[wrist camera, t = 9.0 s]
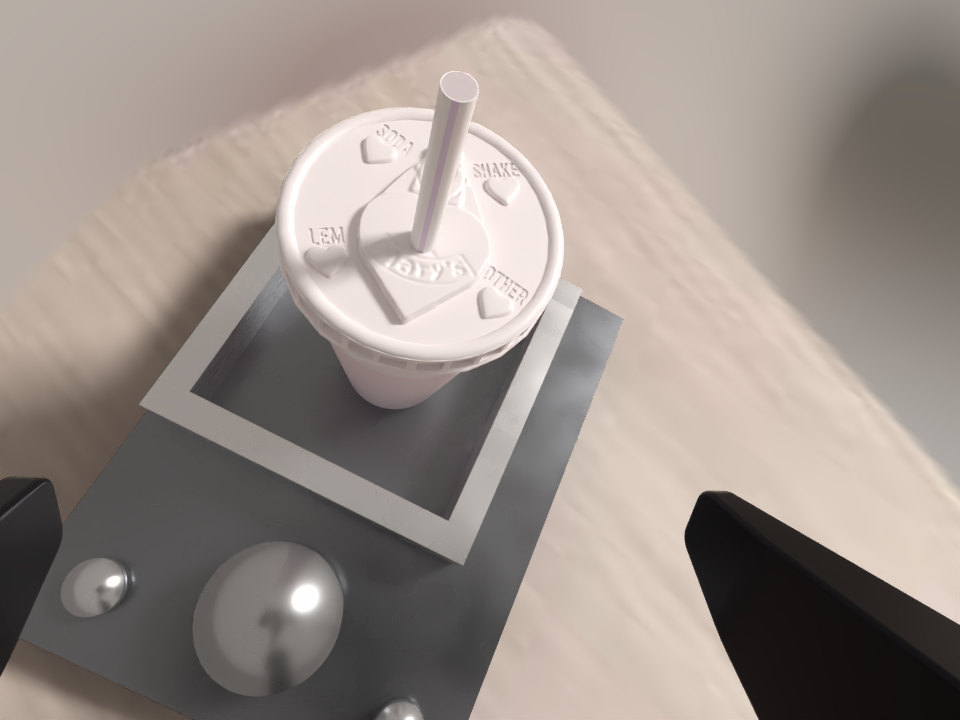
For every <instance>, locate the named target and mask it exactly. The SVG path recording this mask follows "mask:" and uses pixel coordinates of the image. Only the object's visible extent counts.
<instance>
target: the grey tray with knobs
mask: <svg viewBox="0 0 960 720" xmlns="http://www.w3.org/2000/svg"><path fill="white" fill-rule="evenodd" d="M581 292H582V289H580V288H579V287H577V286H575V285H573V284H571V283H569V282H567V281H565V280H564V279H562V278H559V281H558V284H557V287H556V289H555V291H554V293H553V296H552V298H551V299H550V301H549V303H548V304H547V306H546V308H545V310H544V311H543V313H542V314H541V316H540V317H539V319H538V320H537V321H536V323H535V324H534V326H533V327H532V329H531V330H530V332H529V333H528V335H527V336H526V337H525V338H524V339H522V340H521V341H520V342H519V343H517V344H516V345H515V346H514V347H512V348H511V349H510V350H509V351H507V352H506V353H505V354H504V355H502V356H501V357H500V358H497V359H495V360H493V361H490V362H488V363H486V364H483V365H481V366H479V367H476V368H474V369H471V370H469V371H466V372H460V373H459V374H458V375H456V376H455V377H454V378H453V379H451V380H450V381H449V382H447V383H446V384H445V385H444V386H442V387H441V388H440V389H438V390H437V391H436V392H435V393H433V394H432V395H431V396H429V397H428V398H427V399H426V400H424V401H423V402H421V403H419V404H417V405H415V406H412V407H409V408H405V409H386V408H382V407H378V406H376V405H374V404H372V403H370V402H368V401H366V400H365V399H364V398H362V397H361V396H360V395H359V394H358V393H357V392H356V390H355V389H354V388H353V386H352V385H351V383H350V381H349V379H348V377H347V375H346V373H345V371H344V369H343V367H342V365H341V363H340V361H339V359H338V357H337V355H336V353H335V351H334V349H333V347H332V345H331V343H330V341H329V340H327V339H326V338H324V337H323V336H321V335H320V334H319V333H318V331H317V330H316V329H315V328H314V327H313V325H312V324H311V323H310V322H309V321H308V319H307V318H306V317H305V316H304V315H303V313H302V312H301V311H300V310H299V309H298V307H297V306H296V305H295V303H294V301H293V298H292V296H291V294H290V291H289V289H288V287H287V285H286V282H285V280H284V278H283V275H282V273H281V270H280V262H279V253H278V244H277V237H276V225H275V223H274V225H273V226H272V227H271V229H270V230H269V231H268V233H267V234H266V235H265V237H264V238H263V239H262V241H261V242H260V243H259V245H258V246H257V247H256V249H255V250H254V251H253V253H252V254H251V255H250V257H249V258H248V259H247V261H246V262H245V263H244V265H243V266H242V267H241V269H240V270H239V271H238V273H237V274H236V275H235V277H234V278H233V279H232V281H231V282H230V283H229V285H228V286H227V287H226V289H225V290H224V291H223V293H222V294H221V295H220V297H219V298H218V299H217V301H216V302H215V303H214V305H213V306H212V307H211V309H210V310H209V311H208V313H207V314H206V315H205V317H204V318H203V319H202V321H201V322H200V323H199V325H198V326H197V327H196V329H195V330H194V332H193V333H192V334H191V336H190V337H189V338H188V340H187V341H186V342H185V344H184V345H183V346H182V348H181V349H180V350H179V352H178V353H177V354H176V356H175V357H174V358H173V360H172V361H171V362H170V364H169V365H168V366H167V368H166V369H165V370H164V372H163V373H162V374H161V376H160V377H159V378H158V380H157V381H156V382H155V384H154V385H153V386H152V388H151V389H150V390H149V392H148V393H147V394H146V396H145V397H144V398H143V400H142V401H141V402H140V404H139V405H140V406H142V407H143V408H145V409H146V410H147V412H146V413H145V415H144V416H143V417H142V419H141V420H140V421H139V423H138V424H137V425H136V427H135V428H134V429H133V431H132V432H131V434H130V435H129V436H128V438H127V439H126V440H125V442H124V443H123V444H122V446H121V447H120V448H119V450H118V451H117V452H116V454H115V455H114V457H113V458H112V459H111V461H110V462H109V463H108V465H107V466H106V467H105V469H104V470H103V471H102V473H101V474H100V476H99V477H98V478H97V480H96V481H95V482H94V484H93V485H92V486H91V488H90V489H89V490H88V492H87V493H86V494H85V496H84V497H83V499H82V500H81V501H80V503H79V504H78V505H77V507H76V508H75V509H74V511H73V512H72V513H71V515H70V516H69V517H68V519H67V520H66V522H65V523H64V524H63V526H62V528H63V535H62V541H61V545H60V547H59V550H58V552H57V554H56V557H55V559H54V561H53V563H52V566H51V568H50V570H49V572H48V575H47V577H46V579H45V581H44V583H43V586H42V588H41V590H40V592H39V595H38V597H37V599H36V601H35V603H34V606H33V608H32V610H31V612H30V615H29V617H28V619H27V621H26V624H25V626H24V628H23V630H22V632H21V635H20V637H19V638H20V639H22V640H25V641H27V642H29V643H31V644H33V645H35V646H37V647H40V648H42V649H44V650H46V651H48V652H50V653H52V654H55V655H57V656H59V657H61V658H63V659H65V660H67V661H70V662H72V663H74V664H76V665H78V666H80V667H82V668H84V669H87V670H89V671H91V672H93V673H95V674H97V675H99V676H102V677H104V678H106V679H108V680H110V681H112V682H114V683H117V684H119V685H121V686H123V687H125V688H127V689H129V690H132V691H134V692H136V693H138V694H140V695H142V696H144V697H147V698H149V699H151V700H153V701H155V702H157V703H159V704H162V705H164V706H166V707H168V708H170V709H172V710H174V711H177V712H179V713H181V714H183V715H185V716H187V717H189V718H192V719H194V720H468V719H469V717H470V714H471V712H472V709H473V706H474V704H475V701H476V699H477V696H478V693H479V691H480V688H481V686H482V683H483V681H484V678H485V675H486V673H487V670H488V668H489V665H490V662H491V660H492V657H493V655H494V652H495V649H496V647H497V644H498V642H499V639H500V637H501V634H502V631H503V629H504V626H505V624H506V621H507V618H508V616H509V613H510V611H511V608H512V606H513V603H514V600H515V598H516V595H517V593H518V590H519V587H520V585H521V582H522V580H523V577H524V574H525V572H526V569H527V567H528V564H529V562H530V559H531V556H532V554H533V551H534V549H535V546H536V543H537V541H538V538H539V536H540V533H541V531H542V528H543V525H544V523H545V520H546V518H547V515H548V512H549V510H550V507H551V505H552V502H553V499H554V497H555V494H556V492H557V489H558V487H559V484H560V481H561V479H562V476H563V474H564V471H565V468H566V466H567V463H568V461H569V458H570V455H571V453H572V450H573V448H574V445H575V443H576V440H577V437H578V435H579V432H580V430H581V427H582V424H583V422H584V419H585V417H586V414H587V412H588V409H589V406H590V404H591V401H592V399H593V396H594V393H595V391H596V388H597V386H598V383H599V380H600V378H601V375H602V373H603V370H604V368H605V365H606V362H607V360H608V357H609V355H610V352H611V349H612V347H613V344H614V342H615V339H616V337H617V334H618V331H619V329H620V326H621V324H622V321H623V318H621V317H619V316H617V315H615V314H613V313H611V312H610V311H608V310H606V309H604V308H602V307H600V306H598V305H596V304H594V303H593V302H591V301H589V300H587V299H585V298H583V297H581V296H580V295H581Z"/></svg>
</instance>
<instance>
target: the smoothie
mask: <svg viewBox="0 0 960 720" xmlns="http://www.w3.org/2000/svg"><path fill="white" fill-rule="evenodd" d="M478 93H479V86H478V84H477V82H476V80H475V79H474V78H473V77H472V76H471V75H469V74H467V73H465V72H462V71H450V72H447V73H446V74H444V75H443V76H442V78H441V80H440V86H439V91H438V96H437V101H436V107H435V110H432V109H423V108H408V107H401V108H387V109H379V110H374V111H370V112H365V113H362V114H359V115H356V116H353V117H350V118H348V119H345V120H343V121H341V122H339V123H337V124H335V125H333V126H332V127H330V128H328V129H327V130H325V131H324V132H322V133H321V134H319V135H318V136H317V137H316V138H315V139H313V140H312V141H311V142H310V143H309V144H308V145H307V146H306V147H305V148H304V149H303V150H302V151H301V153H300V154H299V155H298V156H297V158H296V159H295V160H294V162H293V163H292V165H291V167H290V168H289V170H288V172H287V174H286V176H285V178H284V181H283V183H282V186H281V189H280V192H279V195H278V201H277V206H276V217H275V225H276V237H277V244H278V253H279V262H280V270H281V273H282V275H283V278H284V280H285V282H286V285H287V287H288V289H289V291H290V294H291V296H292V298H293V301H294V303H295V305H296V306H297V307H298V309H299V310H300V311H301V312H302V313H303V315H304V316H305V317H306V318H307V319H308V321H309V322H310V323H311V324H312V325H313V327H314V328H315V329H316V330H317V331H318V333H319V334H320V335H321V336H323V337H324V338H326V339H327V340H329V341H330V343H331V345H332V347H333V349H334V351H335V353H336V355H337V357H338V359H339V361H340V363H341V365H342V367H343V369H344V371H345V373H346V375H347V377H348V379H349V381H350V383H351V385H352V386H353V388H354V389H355V390H356V392H357V393H358V394H359V395H360V396H361V397H362V398H364V399H365V400H366V401H368V402H370V403H372V404H374V405H376V406H378V407H382V408H386V409H405V408H409V407H412V406H415V405H417V404H419V403H421V402H423V401H424V400H426V399H427V398H428V397H429V396H431V395H432V394H433V393H435V392H436V391H437V390H438V389H440V388H441V387H442V386H444V385H445V384H446V383H447V382H449V381H450V380H451V379H453V378H454V377H455V376H456V375H458V374H459V373H460V372H466V371H469V370H471V369H474V368H476V367H479V366H481V365H483V364H486V363H488V362H490V361H493V360H495V359H497V358H500V357H501V356H502V355H504V354H505V353H506V352H507V351H509V350H510V349H511V348H512V347H514V346H515V345H516V344H517V343H519V342H520V341H521V340H522V339H524V338H525V337H526V336H527V335H528V333H529V332H530V330H531V329H532V327H533V326H534V324H535V323H536V321H537V320H538V319H539V317H540V316H541V314H542V313H543V311H544V310H545V308H546V306H547V304H548V303H549V301H550V299H551V298H552V296H553V293H554V291H555V289H556V287H557V284H558V281H559V278H560V275H561V270H562V265H563V256H564V238H563V229H562V224H561V220H560V216H559V213H558V210H557V207H556V204H555V202H554V199H553V197H552V195H551V193H550V191H549V189H548V187H547V186H546V184H545V182H544V181H543V179H542V178H541V176H540V175H539V173H538V172H537V171H536V170H535V168H534V167H533V166H532V165H531V163H530V162H529V161H528V160H527V159H526V158H525V157H524V156H523V155H522V154H521V153H520V152H519V151H518V150H517V149H515V148H514V147H513V146H512V145H511V144H509V143H508V142H507V141H505V140H504V139H503V138H501V137H500V136H498V135H497V134H495V133H494V132H492V131H490V130H488V129H487V128H485V127H483V126H481V125H479V124H477V123H474V122H472V121H471V118H472V115H473V111H474V108H475V104H476V100H477V97H478Z"/></svg>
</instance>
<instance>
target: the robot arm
mask: <svg viewBox="0 0 960 720" xmlns="http://www.w3.org/2000/svg"><path fill="white" fill-rule="evenodd" d="M62 535H63V528H62V523H61V518H60V513H59V509H58V504H57V500H56V495H55V491H54V487H53V484H52V483H51V481H50V480H49V479H47V478H44V477H21V476H14V477H7V478H4V479H2V480H0V676H1V674H2V672H3V671H4V669H5V667H6V665H7V662H8V660H9V658H10V656H11V654H12V652H13V650H14V648H15V646H16V644H17V641H18V639H19V637H20V635H21V632H22V630H23V628H24V626H25V624H26V621H27V619H28V617H29V615H30V612H31V610H32V608H33V606H34V603H35V601H36V599H37V597H38V595H39V592H40V590H41V588H42V586H43V583H44V581H45V579H46V577H47V575H48V572H49V570H50V568H51V566H52V563H53V561H54V559H55V557H56V554H57V552H58V550H59V547H60V545H61V541H62ZM685 545H686V548H687V551H688V554H689V557H690V559H691V562H692V565H693V567H694V570H695V573H696V575H697V578H698V581H699V584H700V586H701V589H702V592H703V594H704V597H705V600H706V602H707V605H708V608H709V611H710V613H711V616H712V619H713V621H714V624H715V626H716V629H717V631H718V634H719V636H720V639H721V641H722V643H723V646H724V648H725V650H726V652H727V654H728V657H729V659H730V661H731V663H732V665H733V667H734V669H735V671H736V673H737V675H738V677H739V680H740V682H741V684H742V686H743V688H744V690H745V692H746V694H747V696H748V698H749V700H750V703H751V705H752V707H753V709H754V711H755V713H756V715H757V717H758V719H759V720H960V625H959V624H957V623H956V622H954V621H952V620H950V619H949V618H947V617H945V616H944V615H942V614H940V613H938V612H937V611H935V610H933V609H931V608H930V607H928V606H926V605H925V604H923V603H921V602H919V601H918V600H916V599H914V598H912V597H911V596H909V595H907V594H906V593H904V592H902V591H900V590H899V589H897V588H895V587H893V586H892V585H890V584H888V583H887V582H885V581H883V580H881V579H880V578H878V577H876V576H874V575H873V574H871V573H869V572H868V571H866V570H864V569H862V568H861V567H859V566H857V565H855V564H854V563H852V562H850V561H849V560H847V559H845V558H843V557H842V556H840V555H838V554H837V553H835V552H833V551H831V550H830V549H828V548H826V547H824V546H823V545H821V544H819V543H818V542H816V541H814V540H812V539H811V538H809V537H807V536H805V535H804V534H802V533H800V532H799V531H797V530H795V529H793V528H792V527H790V526H788V525H786V524H785V523H783V522H781V521H780V520H778V519H776V518H774V517H773V516H771V515H769V514H767V513H766V512H764V511H762V510H761V509H759V508H757V507H755V506H754V505H752V504H750V503H748V502H747V501H745V500H743V499H742V498H740V497H738V496H736V495H735V494H733V493H731V492H728V491H705V492H703V493H702V494H701V495H700V496H699V497H698V499H697V502H696V504H695V507H694V509H693V512H692V514H691V517H690V519H689V522H688V524H687V526H686V529H685Z"/></svg>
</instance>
